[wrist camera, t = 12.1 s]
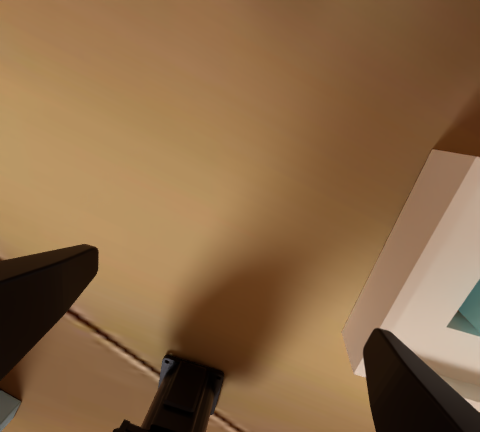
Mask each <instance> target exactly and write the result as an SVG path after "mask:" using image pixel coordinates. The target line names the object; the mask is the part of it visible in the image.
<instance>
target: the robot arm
mask: <svg viewBox="0 0 480 432" xmlns="http://www.w3.org/2000/svg"><path fill="white" fill-rule="evenodd" d="M98 254H99V252H98V249H97V248H96V247H94V246H91V245H87V244H82V245H77V246H72V247H67V248H62V249H57V250H52V251H47V252H43V253H38V254H33V255H28V256H23V257H18V258H13V259H8V260H3V261H0V381H1V380H2V379H3V378H4V377H5V376H6V374H7V373H8V372H9V371H10V370H11V369H12V368H13V367H14V366H15V365H16V364H17V363H18V362H19V361H20V360H21V359H22V358H23V357H24V356H25V355H26V354H27V353H28V352H29V351H30V350H31V349H32V348H33V347H34V346H35V344H36V343H37V342H38V341H39V340H40V339H41V338H42V337H43V336H44V335H45V334H46V333H47V332H48V331H49V330H50V329H51V328H52V327H53V326H54V325H55V324H56V323H57V322H58V321H59V320H60V318H61V317H62V316H63V315H64V314H65V313H66V312H67V311H68V309H69V308H70V307H71V306H72V304H73V303H74V302H75V301H76V299H77V298H78V297H79V296H80V294H81V293H82V292H83V291H84V289H85V288H86V287H87V286H88V284H89V283H90V282H91V281H92V279H93V278H94V277H95V276H96V274H97V271H98ZM363 359H364V366H365V373H366V380H367V388H368V395H369V401H370V407H371V412H372V417H373V421H374V425H375V429H376V432H480V412H478V411H477V410H476V409H475V408H474V407H473V406H472V405H471V404H470V403H469V402H467V401H466V400H465V399H464V398H463V397H462V396H461V395H460V394H459V393H458V392H456V391H455V390H454V389H453V388H452V387H451V386H450V385H449V384H448V383H447V382H446V381H444V380H443V379H442V378H441V377H440V376H439V375H438V374H437V373H436V372H435V371H433V370H432V369H431V368H430V367H429V366H428V365H427V364H426V363H425V362H424V361H422V360H421V359H420V358H419V357H418V356H417V355H416V354H415V353H414V352H413V351H412V350H410V349H409V348H408V347H407V346H406V345H405V344H404V343H403V342H402V341H401V340H399V339H398V338H397V337H396V336H395V335H394V334H393V333H392V332H390V331H388V330H384V329H381V328H375V329H374V330H373V331H372V333H371V334H370V336H369V338H368V340H367V342H366V343H365V345H364V348H363ZM223 379H224V373H223V372H222V371H219V370H216V369H213V368H209V367H206V366H203V365H200V364H196V363H193V362H190V361H187V360H184V359H180V358H177V357H174V356H171V355H165V356H164V358H163V360H162V367H161V373H160V380H159V386H158V391H157V393H156V395H155V397H154V400H153V402H152V404H151V406H150V408H149V410H148V413H147V415H146V417H145V419H144V421H143V423H142V426H141V427H139V426H136V425H134V424H131V423H130V421H128V420H125V419H124V421H123V423H122V424H121V426H120V428H117V429H114V430H113V432H206V429H207V425H208V421H209V417H210V415H212V414H213V413H214V410H215V407H216V403H217V400H218V396H219V393H220V389H221V386H222V383H223Z"/></svg>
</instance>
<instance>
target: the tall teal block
mask: <svg viewBox="0 0 480 432" xmlns="http://www.w3.org/2000/svg"><path fill="white" fill-rule="evenodd" d="M458 310H459V311H460V313H461V314H462V315H463V316H464V317H465V318H466V319H467V320H468V321H469V322H470V323H471V324H472V325H473V326H474V327H475V328H476V329H477V330H478V331H479V332H480V279H479V280H478V282H477V283H476V285H475V286H474V288H473V289H472V291H471V292H470V293H469V295H468V296H467V298H466V299H465V301H464V302H463V304H462V305H461V306H460V308H459V309H458Z"/></svg>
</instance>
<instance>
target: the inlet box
mask: <svg viewBox="0 0 480 432" xmlns="http://www.w3.org/2000/svg"><path fill="white" fill-rule="evenodd" d="M479 279H480V157H476V156H470V155H464V154H459V153H453V152H447V151H441V150H435V149H432V150H431V152H430V154H429V156H428V158H427V160H426V163H425V165H424V167H423V169H422V171H421V173H420V175H419V177H418V179H417V181H416V183H415V185H414V187H413V189H412V191H411V193H410V195H409V197H408V199H407V201H406V203H405V205H404V207H403V209H402V211H401V213H400V215H399V217H398V219H397V221H396V223H395V225H394V227H393V229H392V231H391V233H390V235H389V237H388V239H387V241H386V243H385V245H384V247H383V249H382V251H381V253H380V255H379V257H378V259H377V261H376V263H375V265H374V267H373V269H372V271H371V274H370V276H369V278H368V280H367V282H366V284H365V286H364V288H363V290H362V292H361V294H360V296H359V298H358V300H357V302H356V304H355V306H354V308H353V310H352V312H351V314H350V316H349V318H348V320H347V322H346V324H345V326H344V328H343V330H342V336H343V339H344V342H345V346H346V349H347V353H348V356H349V360H350V363H351V367H352V370H353V373H354V374H356V375H359V376H362V377H366V373H365V366H364V359H363V348H364V345H365V343H366V342H367V340H368V338H369V336H370V334H371V333H372V331H373V330H374V329H375V328H381V329H384V330H388V331H390V332H392V333H393V334H394V335H395V336H396V337H397V338H398V339H399V340H401V341H402V342H403V343H404V344H405V345H406V346H407V347H408V348H409V349H410V350H412V351H413V352H414V353H415V354H416V355H417V356H418V357H419V358H420V359H421V360H422V361H424V362H425V363H426V364H427V365H428V366H429V367H430V368H431V369H432V370H433V371H435V372H436V373H437V374H438V375H439V376H440V377H441V378H442V379H443V380H444V381H446V382H447V383H448V384H449V385H450V386H451V387H452V388H453V389H454V390H455V391H456V392H458V393H459V394H460V395H461V396H462V397H463V398H464V399H465V400H466V401H467V402H469V403H470V404H471V405H472V406H473V407H474V408H475V409H476V410H477V411H479V412H480V332H479V331H478V330H477V329H476V328H475V327H474V326H473V325H472V324H471V323H470V322H469V321H468V320H467V319H466V318H465V317H464V316H463V315H462V314H461V313H459V312H457V311H458V309H459V308H460V306H461V305H462V304H463V302H464V301H465V299H466V298H467V296H468V295H469V293H470V292H471V291H472V289H473V288H474V286H475V285H476V283H477V282H478V280H479Z"/></svg>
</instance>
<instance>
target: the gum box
mask: <svg viewBox="0 0 480 432" xmlns="http://www.w3.org/2000/svg"><path fill="white" fill-rule="evenodd" d="M20 404H21V401H19V400H18V399H16V398H14V397H12V396H11V395H9V394H7V393H5V392H4V391H2V390H0V432H1V431H2V430H3V429H4V428H5V426H6V425H7V424H8V423H9V422H10V421H11V420H12V419H13V418H14V415H15V413H16V411H17V409H18V408H19V406H20Z"/></svg>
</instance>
